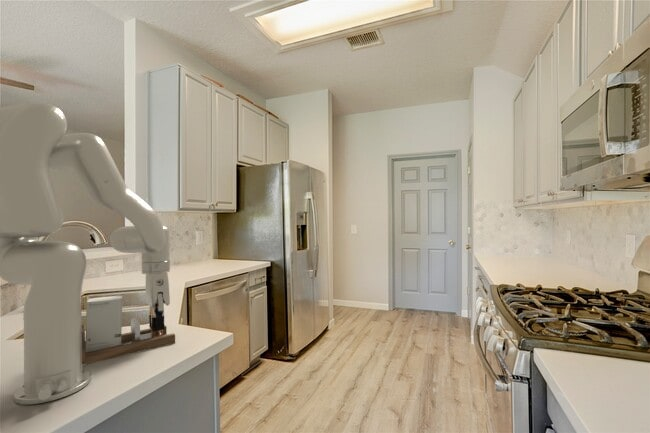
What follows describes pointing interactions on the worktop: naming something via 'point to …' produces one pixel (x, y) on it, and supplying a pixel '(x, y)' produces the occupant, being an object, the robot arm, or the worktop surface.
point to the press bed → (126, 346)
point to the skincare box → (103, 323)
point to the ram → (136, 330)
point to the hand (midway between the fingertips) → (156, 328)
